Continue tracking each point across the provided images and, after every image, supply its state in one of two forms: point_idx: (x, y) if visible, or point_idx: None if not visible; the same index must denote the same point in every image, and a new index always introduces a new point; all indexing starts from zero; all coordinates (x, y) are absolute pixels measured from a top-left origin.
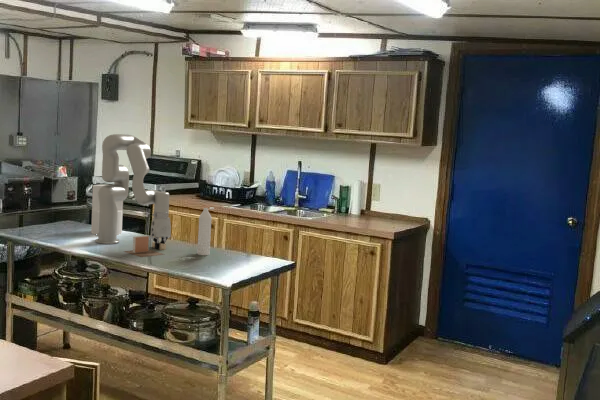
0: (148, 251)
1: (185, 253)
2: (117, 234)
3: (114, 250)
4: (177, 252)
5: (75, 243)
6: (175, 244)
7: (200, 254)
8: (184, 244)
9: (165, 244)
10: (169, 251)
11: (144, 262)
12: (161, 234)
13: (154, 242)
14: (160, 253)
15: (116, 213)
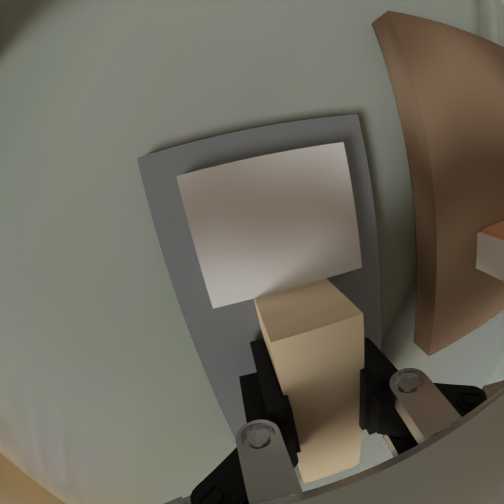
0: (478, 223)
1: (33, 151)
2: None
3: (500, 372)
4: (97, 231)
5: None
6: (82, 485)
7: None
8: (31, 464)
9: (280, 338)
10: (180, 314)
11: (501, 14)
12: (481, 472)
13: (357, 447)
14: (421, 71)
15: None
